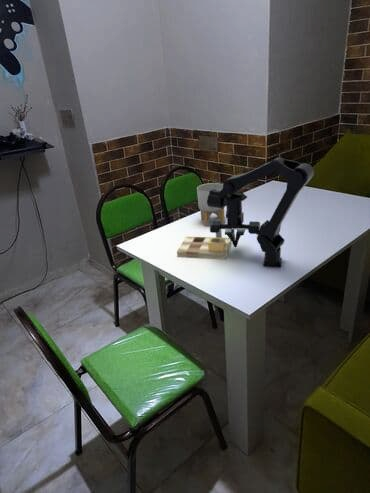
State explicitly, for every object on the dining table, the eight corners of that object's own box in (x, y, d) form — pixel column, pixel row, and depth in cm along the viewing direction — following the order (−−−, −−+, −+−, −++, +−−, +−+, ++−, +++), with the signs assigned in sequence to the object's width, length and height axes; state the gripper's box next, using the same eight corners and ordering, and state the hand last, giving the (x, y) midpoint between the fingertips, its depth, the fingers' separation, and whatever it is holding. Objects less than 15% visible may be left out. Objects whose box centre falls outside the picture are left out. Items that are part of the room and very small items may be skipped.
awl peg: (221, 241, 150) (220, 224, 147) (215, 240, 151) (214, 224, 147) (222, 238, 152) (221, 221, 149) (216, 238, 153) (215, 221, 150)
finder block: (223, 251, 136) (223, 242, 134) (208, 250, 138) (208, 242, 136) (225, 245, 140) (225, 237, 138) (211, 245, 142) (210, 236, 140)
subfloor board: (225, 259, 135) (225, 253, 134) (177, 256, 141) (176, 251, 140) (231, 243, 147) (231, 237, 146) (186, 241, 153) (186, 236, 152)
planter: (230, 218, 171) (229, 184, 163) (217, 228, 162) (214, 192, 155) (209, 215, 179) (206, 181, 171) (194, 224, 170) (191, 189, 162)
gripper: (261, 202, 133) (261, 238, 140) (214, 202, 139) (216, 237, 146) (258, 213, 124) (258, 251, 131) (208, 212, 129) (211, 249, 136)
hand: (235, 246), depth 136 cm, fingers closed
